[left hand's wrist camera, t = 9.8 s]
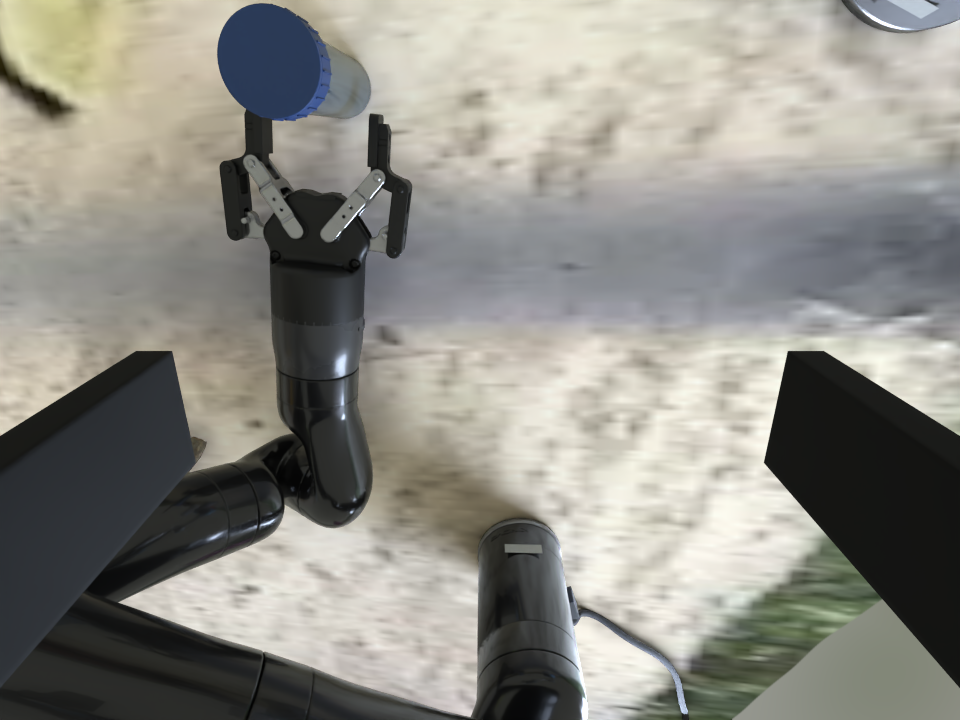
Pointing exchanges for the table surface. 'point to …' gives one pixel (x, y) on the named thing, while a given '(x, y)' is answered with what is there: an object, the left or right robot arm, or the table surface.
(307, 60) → the lid
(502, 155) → the table surface
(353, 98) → the bottle
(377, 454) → the table surface
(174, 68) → the table surface
